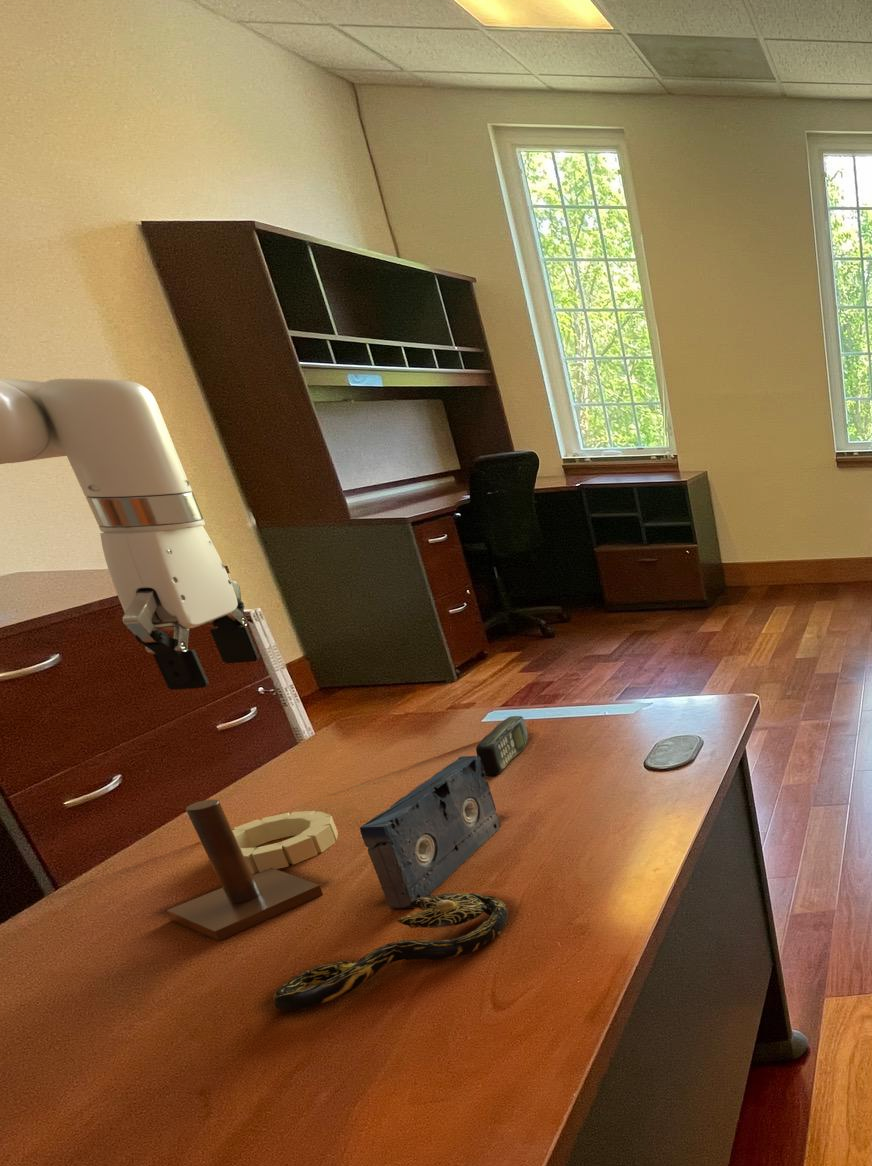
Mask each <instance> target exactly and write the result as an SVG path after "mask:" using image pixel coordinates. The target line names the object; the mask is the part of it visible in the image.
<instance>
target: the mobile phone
mask: <svg viewBox="0 0 872 1166" xmlns="http://www.w3.org/2000/svg"><path fill="white" fill-rule="evenodd" d="M528 739H529V736H528V729H527V725H526V721H525V719H524V717H523V716H522V715H511V716H508V717H507V718H505V719H504V720H502V721H501V722H500V723H498V724H497V725H496V726H495V727H494V728H493V729H492V730H491V731H490V732H489V733H487V734H486V735H485V736H484V737H483V738H482V739H481V740H480V741H479V742H478V744H477V745H476V746H475V747H476V748H475V752H476V756H480V758H481V760H480V761H481V762H482V764H483V767H484V770H485V775H486V776H495V775H500V773H502V771H504V769H505V768H506V767H507V766H508V765H509V763H511V762H512V761H513V760H514V759H515V758H516V757H517V756H518V755H519V754H521V753H522V752H523V751H524V749H525V748H526V746H527V743H528Z"/></svg>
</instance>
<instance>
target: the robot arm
mask: <svg viewBox="0 0 872 1166" xmlns="http://www.w3.org/2000/svg"><path fill="white" fill-rule="evenodd" d="M60 457H61V458H62V457H66V458H67V459H68V462H69V464H70V466H71V469H72V471H73V473H74V475H75V477H76V479H77V482H78V484H79V486H80V489H81V490H82V493H83V495H84V496H85V499H86V501H87V503H88V506H89V508H90V510H91V512H92V514H93V517H94V519H95V521H96V523H97V526H98V528H99V531H100V532H101V533H100V535H99V536H100V540H101V547H102V551H103V555H104V560H105V562H106V567H107V570H108V572H109V575H110V578H111V581H112V584H113V587H114V589H115V592H116V595H117V598H118V600H119V604H120V605H121V607H122V610H123V613H124V614H123V616H122V622H123V624H124V625H125V626H126V627H127V629H128V630H129V631H131V633H132V634H133V635H134V638H135V639H136V641H137V642H138V643H140V644H141V645H143V646H144V648H145V650H146V652H147V653H148V654H150V655H152V656H153V658H154V660H155V663H156V665H157V667H158V669H159V671H160V674H161V676H162V678H163V680H164V682H165V684H166V686H167V689H169V690H172V691H176V690H177V691H178V690H188V689H189V690H190V689H191V690H192V689H203V688H206V687H208V686H209V684H210V682H209V680H208V677H207V675H206V673H205V670H204V668H203V666H202V663H201V661H200V659H199V657H198V653H197V652H196V649H195V648H191V649H189V641H190V629H194V628H197V627H200V626H203V625H205V624H208V623H209V624H210V625H211V626H212V627H213V628H212V627H211V628H210V629H209V632H210V634H211V637H212V639H213V641H214V643H215V646H216V649H217V651H218V653H219V655H220V659H221V660H222V662H223V663H225V664H238V663H253V662H257V661H258V660H259V659H260V655H259V653H258V650H257V648H256V646H255V642H254V640H253V638H252V635H251V633H250V629H249V628H248V623H249V622H248V618H247V617H246V615H244V610H245V603H244V602H243V601H242V595H241V593H242V592H241V586H240V583H238V582H236V581H235V580H232V579H230V576H229V574H228V572H227V570H226V568H225V565H224V563H223V561H222V558H221V557H220V555H219V553H218V551H217V549H216V547H215V545H214V543H213V541H212V539H211V538H210V536H209V533H208V532H207V531H206V529H205V527H204V526H206V522H205V519H204V516H203V515H202V512H201V509H200V507H199V504H198V502H197V499H196V497H195V495H194V492H193V489H192V487H191V485H190V482H189V479H188V477H187V474H186V473H185V469H184V467H183V465H182V462H181V460H180V457H179V455H178V452H177V450H176V447H175V444H174V442H173V440H172V437H171V434H170V432H169V429H168V427H167V425H166V422H165V420H164V416H163V414H162V412H161V409H160V407H159V405H158V402H157V399H156V398H155V396H154V395H153V393H152V392H151V391H150V390H149V389H148V388H147V387H146V386H144V385H142V384H141V383H138V382H135V381H133V380H125V379H109V378H107V379H105V378H54V379H49V380H46V381H36V380H27V379H18V378H11V377H10V378H9V377H2V376H1V377H0V465H5V464H15V463H23V462H30V461H31V462H32V461H37V460H45V459H52V458H60ZM171 632H173V637H172V636H170V635H169V634H168V633H171Z"/></svg>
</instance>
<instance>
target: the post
mask: <svg viewBox="0 0 872 1166" xmlns="http://www.w3.org/2000/svg"><path fill="white" fill-rule="evenodd" d="M185 811H186V813H187V815H188V817H189V819H190V821H191V823H192V826H193V828H194V830H195V832H196V834H197V836H198V838H199V841H200V843H201V845H202V847H203V850H204V851H205V853H206V856H207V858H208V859H209V862H210V864H211V867H212V869H213V870H214V873H215V874H216V877H217V879H218V881H219V883H220V885H221V887H220V888H218V889H215V890H213V891H210V892H208V893H205V894H203V895H200V896H198V897H195V898H193V899H191V900H188V901H186V902H184V903H181V904H179V905H176V906H173V907H171V908H169V909H166V912H167V914H168V916H169V918H170V920H171V921H173V922H176V923H178V924H180V925H182V926H184V927H186V928H188V929H191V930H193V931H195V932H198V933H200V934H203V935H204V936H207V937H209V938H210V939H211V938H212V939H213V940H216V941H218V942H221V941H223V940H226V939H228V938H230V937H232V936H234V935H237V934H239V933H241V932H244V931H246V930H248V929H250V928H252V927H254V926H257V925H259V924H261V923H263V922H266V921H267V920H270V919H272V918H274V917H277V916H279V915H281V914H283V913H286V912H288V911H290V910H293V909H294V908H296V907H299V906H301V905H302V904H306V903H307V902H309V901H313V900H315V899H316V898H318V897H321V896H324V893H323V890H322V888H321V885H319V884H317V883H314V882H311V881H308V880H307V879H303V878H301V877H298V876H295V875H292V874H290V873H287V872H284V871H281V870H280V869H274V868H269V869H267V870H264V871H262V872H260V873H259V872H257V873H256V874H251V871H250V869H249V867H248V865H247V862H246V860H245V858H244V856H243V853H242V851H241V849H240V847H239V845H238V842H237V840H236V838H235V836H234V833H233V831H232V830H233V829H232V826H231V824H230V822H229V820H228V818H227V816H226V814H225V811H224V809H223V806H222V805H221V802H220V800H218V799H204V800H201V801H197V802H194V803H191V804H189V805H187V806H186V808H185Z"/></svg>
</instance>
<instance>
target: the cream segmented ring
mask: <svg viewBox="0 0 872 1166" xmlns="http://www.w3.org/2000/svg"><path fill="white" fill-rule="evenodd" d="M231 829H232V831H233V833H234V836H235V838H236V840H237V842H238V845H239V847H240V849H241V851H242V853H243V856H244V858H245V860H246V862H247V865H248V867H249V869H250V871H251V874H252V875H255V874H257V873H260V872H262V871H264V870H267V869H269V868H274V869H276V870H280V869H284V868H288V867H289V866H290V864H291V865H296V864H299V863H301V862H303V861H306V860H310V859H311V858H313V857H316V856H318V854H321V853H323V852H325V851H326V850H328V849H329V848H331V847H332V846H333V845H335V844H336V842H337V841H338V838H339V837H338V836H339V835H338V834H339V831H338V829H337V827H336V824H335V822H334V818H333V816H332V815H331V814H329V813H326V812H322V811H315V810H307V811H306V810H305V811H303V810H302V811H292V812H291V813H290V812H285V813H280V814H275V815H270V816H266V817H262V818H261V819H254V820H251V821H249V822H246V823H244V824H240V825H238V826H235V827H231ZM284 838H287V839H285V840H282V841H279V842H276V843H275V842H274V843H271V844H267V843H269V842H271V841H276V840H280V839H284ZM263 844H266V845H263Z"/></svg>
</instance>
